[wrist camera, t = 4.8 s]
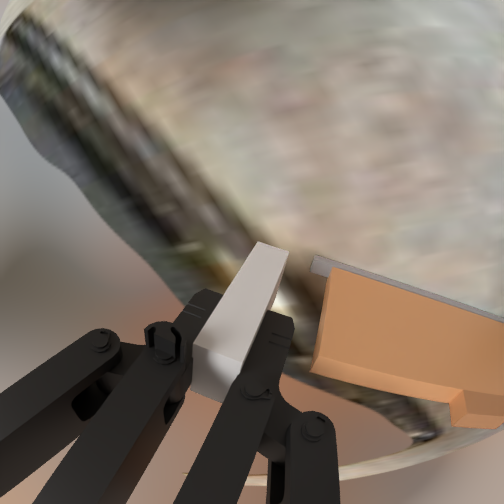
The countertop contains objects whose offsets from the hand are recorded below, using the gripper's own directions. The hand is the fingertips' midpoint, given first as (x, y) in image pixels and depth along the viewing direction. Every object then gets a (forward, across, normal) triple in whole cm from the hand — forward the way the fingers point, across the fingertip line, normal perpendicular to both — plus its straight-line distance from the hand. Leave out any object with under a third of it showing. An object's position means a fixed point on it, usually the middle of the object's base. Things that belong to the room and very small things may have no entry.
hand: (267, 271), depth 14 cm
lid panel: (+1, +11, 0) cm, 11 cm away
